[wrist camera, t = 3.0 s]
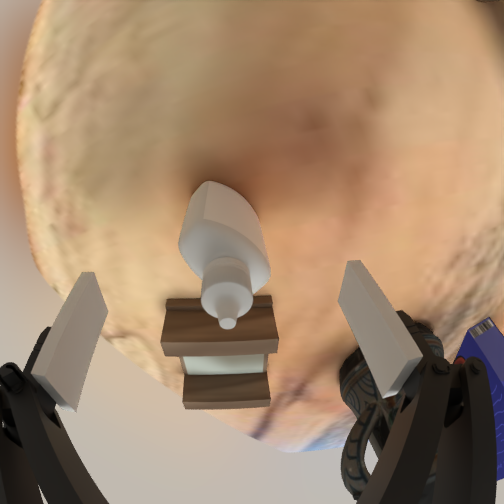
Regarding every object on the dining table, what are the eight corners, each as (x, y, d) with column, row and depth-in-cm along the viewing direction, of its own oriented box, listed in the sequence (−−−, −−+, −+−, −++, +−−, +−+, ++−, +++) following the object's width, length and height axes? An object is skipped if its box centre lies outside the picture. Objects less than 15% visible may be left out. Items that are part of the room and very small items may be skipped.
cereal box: (460, 375, 47) (505, 471, 22) (441, 385, 48) (484, 486, 22) (489, 316, 36) (560, 438, 10) (467, 329, 36) (538, 462, 11)
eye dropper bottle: (240, 166, 20) (256, 255, 10) (262, 230, 23) (292, 347, 13) (185, 187, 20) (149, 289, 10) (213, 246, 23) (208, 368, 13)
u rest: (167, 299, 26) (159, 338, 22) (271, 295, 27) (279, 334, 23) (188, 378, 33) (186, 410, 29) (264, 375, 34) (269, 408, 30)
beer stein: (421, 367, 40) (472, 481, 19) (320, 404, 41) (351, 535, 20) (442, 304, 31) (528, 452, 10) (310, 352, 32) (359, 548, 11)
